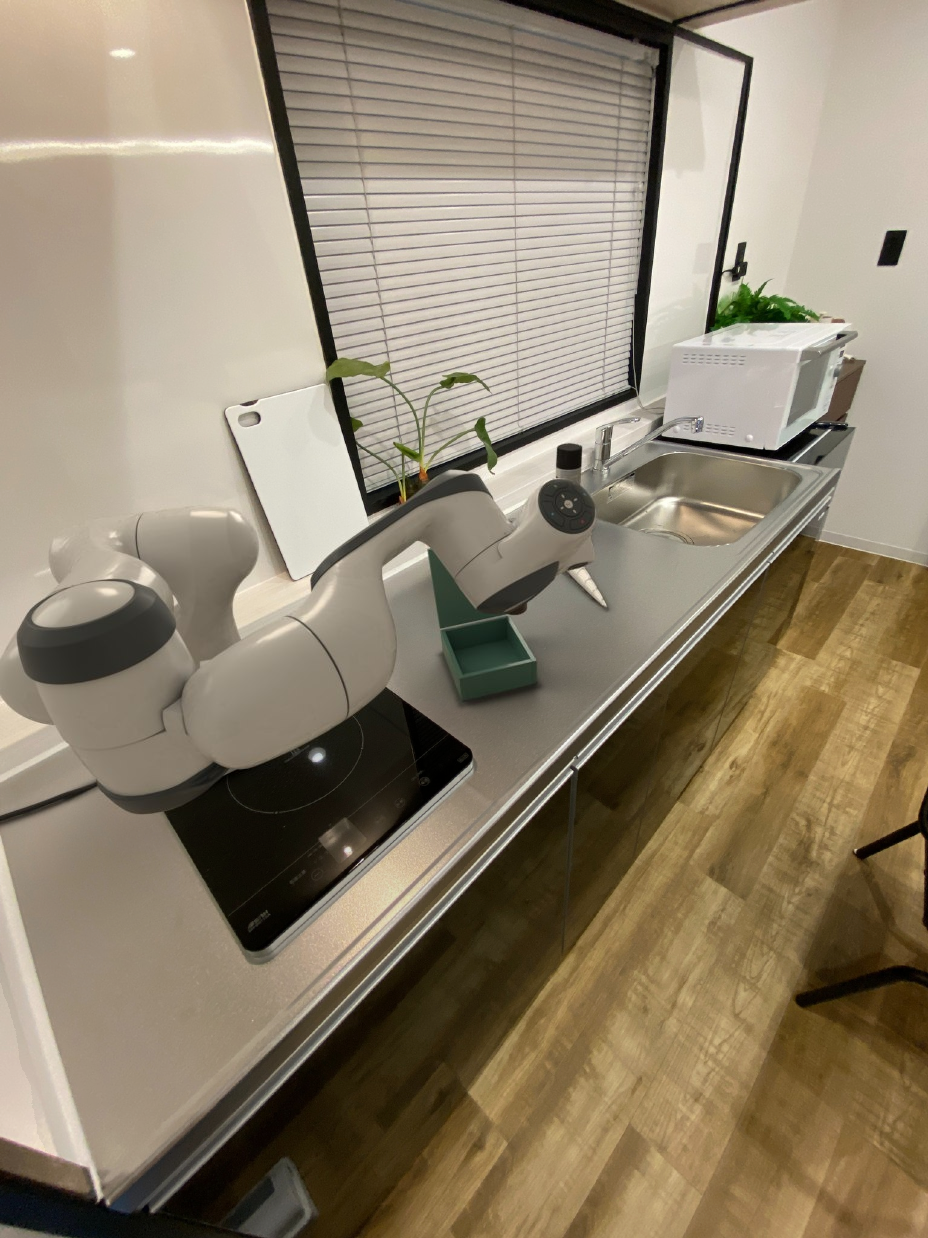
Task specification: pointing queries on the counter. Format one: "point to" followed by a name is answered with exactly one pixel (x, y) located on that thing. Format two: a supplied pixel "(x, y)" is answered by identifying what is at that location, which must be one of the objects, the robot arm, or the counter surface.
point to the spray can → (569, 462)
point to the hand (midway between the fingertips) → (512, 578)
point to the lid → (451, 597)
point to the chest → (488, 657)
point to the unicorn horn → (587, 583)
